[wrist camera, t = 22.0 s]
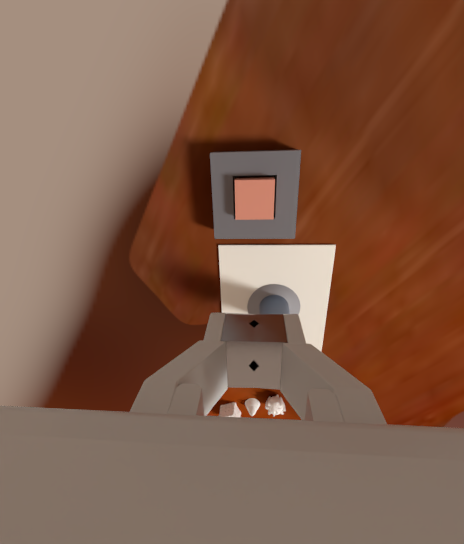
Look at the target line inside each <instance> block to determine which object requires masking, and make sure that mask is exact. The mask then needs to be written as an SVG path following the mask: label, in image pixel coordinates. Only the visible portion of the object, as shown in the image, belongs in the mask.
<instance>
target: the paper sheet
mask: <svg viewBox="0 0 464 544" xmlns="http://www.w3.org/2000/svg"><path fill="white" fill-rule="evenodd" d="M218 248H219V267H220V287H221V307H222V313H243V314H260V312H259V306H260V302H261V301H262V300H263V299H264V298H265V297H267V296H269V295H279V296H282V297H283V298H285V299H286V301H287V302H288V306H289V310H290V314H298V315H299V318H300V322H301V326H302V330H303V333H304V337H305V341H306V344H312V345H313V346H314V347H316V348H317V349H318V350H319V351H322V344H323V336H324V329H325V322H326V314H327V307H328V300H329V292H330V285H331V278H332V270H333V263H334V256H335V248H336V245H335V244H278V245H218Z"/></svg>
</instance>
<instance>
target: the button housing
mask: <svg viewBox="0 0 464 544" xmlns="http://www.w3.org/2000/svg"><path fill="white" fill-rule="evenodd" d="M300 159H301V150H297V149H296V150H260V151H224V152H211V153H210V165H211V183H212V201H213V219H214V236H215V239H295V230H296V216H297V202H298V188H299V174H300ZM268 176H273V177H274V178H275V194H274V219H263V220H235V179H236V177H268Z"/></svg>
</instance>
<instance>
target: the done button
mask: <svg viewBox="0 0 464 544" xmlns="http://www.w3.org/2000/svg"><path fill="white" fill-rule="evenodd" d="M274 194H275V178H274V177H273V176H268V177H236V179H235V220H263V219H274Z"/></svg>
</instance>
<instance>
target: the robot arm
mask: <svg viewBox="0 0 464 544" xmlns="http://www.w3.org/2000/svg"><path fill="white" fill-rule="evenodd" d="M227 387H243V388H266V389H280V391H281V392H282V394H283V395H284V396H285V398H286V399H287V401H288V402H289V403H290V405H291V406H292V407H293V409H294V410H295V411H296V413H297V414H298V415H299V417H300V418H301V419H302V420H285V419H264V418H242V417H221V416H206V415H207V414H208V413H209V412H210V410H211V409H212V408H213V406H214V405H215V404H216V403H217V401H218V400H219V399H220V398H221V396H222V395H223V394H224V393H225V391H226V390H227V389H228V388H227ZM0 544H464V428H449V427H448V428H447V427H427V426H407V425H387V423H386V421H385V419H384V417H383V414H382V412H381V410H380V408H379V406H378V404H377V402H376V400H375V398H374V395H373V393H372V391H371V390H370V389H369V388H368V387H366V386H365V385H364V384H363V383H361V382H360V381H359V380H357V379H356V378H355V377H353V376H352V375H351V374H349V373H348V372H347V371H346V370H344V369H343V368H342V367H340V366H339V365H338V364H336V363H335V362H334V361H332V360H331V359H330V358H329V357H327V356H326V355H325V354H323V353H322V352H321V351H319V350H318V349H317V348H316V347H314V346H313V345H312V344H306V341H305V337H304V333H303V330H302V326H301V322H300V318H299V315H298V314H243V313H211V314H210V318H209V322H208V326H207V330H206V333H205V337H204V341H198V342H197V343H196V344H194V345H193V346H191V347H190V348H189V349H187V350H186V351H185V352H183V353H182V354H180V355H179V356H178V357H176V358H175V359H173V360H172V361H171V362H169V363H168V364H167V365H165V366H164V367H162V368H161V369H160V370H158V371H157V372H156V373H154V374H153V375H152V376H150V377H149V378H147V379H146V380H145V381H144V383H143V385H142V387H141V389H140V391H139V393H138V396H137V397H136V400H135V402H134V404H133V406H132V408H131V410H130V412H117V411H97V410H76V409H55V408H34V407H14V406H0Z"/></svg>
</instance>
